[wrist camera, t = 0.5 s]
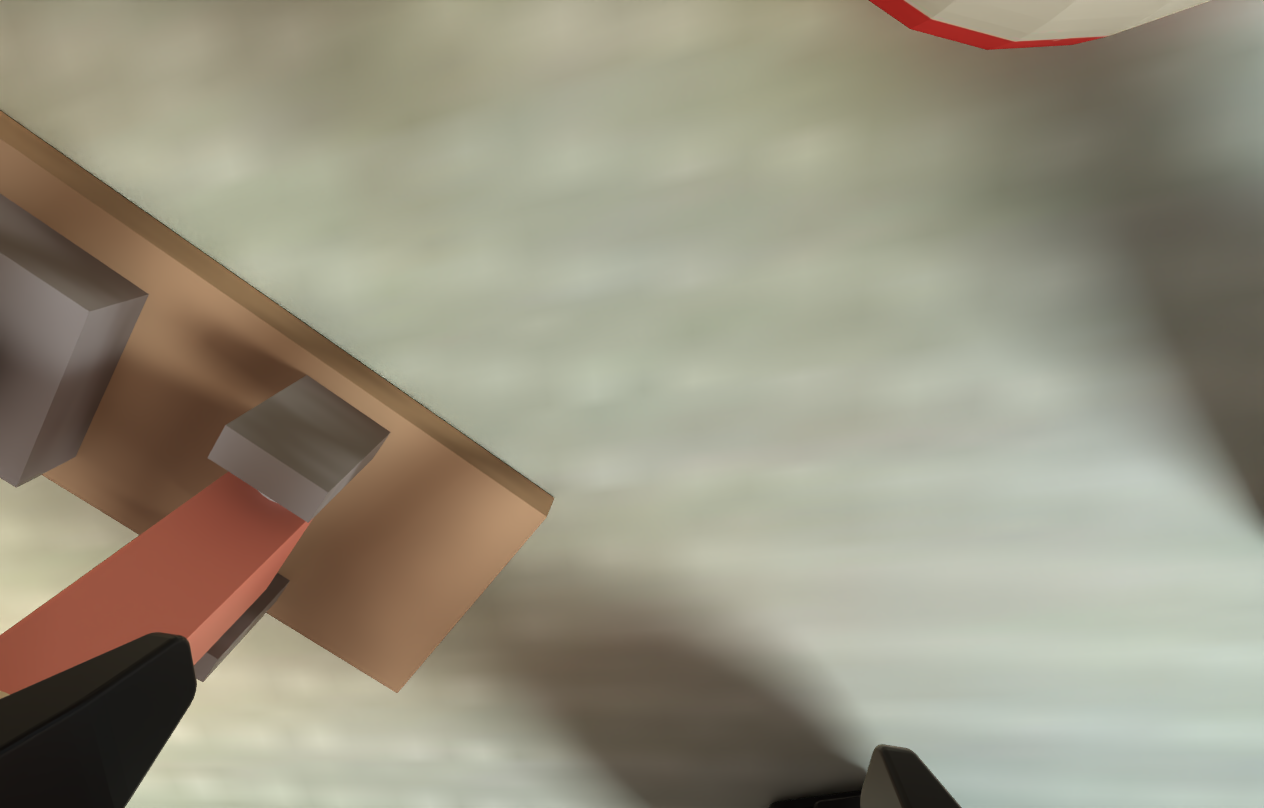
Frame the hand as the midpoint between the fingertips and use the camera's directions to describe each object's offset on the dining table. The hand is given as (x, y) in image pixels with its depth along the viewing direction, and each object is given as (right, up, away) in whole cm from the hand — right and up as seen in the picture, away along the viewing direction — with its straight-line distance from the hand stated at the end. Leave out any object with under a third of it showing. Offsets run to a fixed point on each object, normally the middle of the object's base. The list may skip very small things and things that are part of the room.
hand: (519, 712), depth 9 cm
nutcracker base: (-12, +3, +14) cm, 19 cm away
